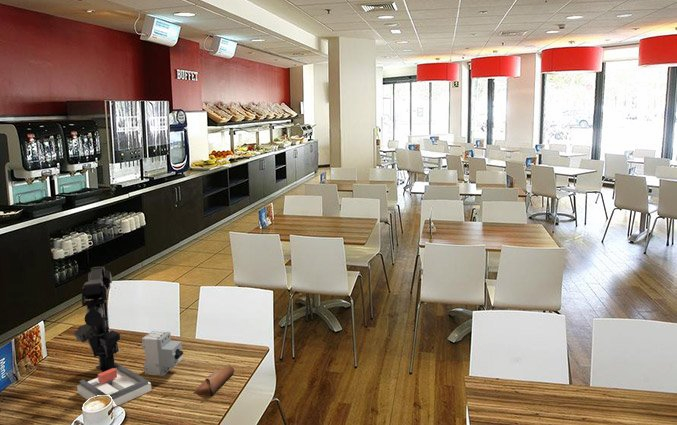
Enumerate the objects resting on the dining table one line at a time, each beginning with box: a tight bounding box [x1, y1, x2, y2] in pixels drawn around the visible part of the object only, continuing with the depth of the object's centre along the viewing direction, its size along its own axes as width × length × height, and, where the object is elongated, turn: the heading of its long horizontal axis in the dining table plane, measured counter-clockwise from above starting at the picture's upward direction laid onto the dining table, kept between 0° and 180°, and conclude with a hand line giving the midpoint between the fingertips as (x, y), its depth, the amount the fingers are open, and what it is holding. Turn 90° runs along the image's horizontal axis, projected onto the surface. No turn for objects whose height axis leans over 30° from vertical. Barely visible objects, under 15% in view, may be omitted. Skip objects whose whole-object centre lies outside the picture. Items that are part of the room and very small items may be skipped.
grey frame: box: [78, 364, 149, 400], centre depth 201 cm, size 20×16×2 cm
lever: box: [97, 368, 117, 385], centre depth 204 cm, size 2×6×6 cm, turn 140°
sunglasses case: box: [193, 365, 235, 397], centre depth 206 cm, size 18×7×7 cm
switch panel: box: [76, 369, 153, 406], centre depth 201 cm, size 20×18×3 cm
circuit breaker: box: [141, 330, 184, 377], centre depth 215 cm, size 8×14×15 cm, turn 78°
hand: (101, 354), depth 206 cm, fingers open, 9 cm apart
